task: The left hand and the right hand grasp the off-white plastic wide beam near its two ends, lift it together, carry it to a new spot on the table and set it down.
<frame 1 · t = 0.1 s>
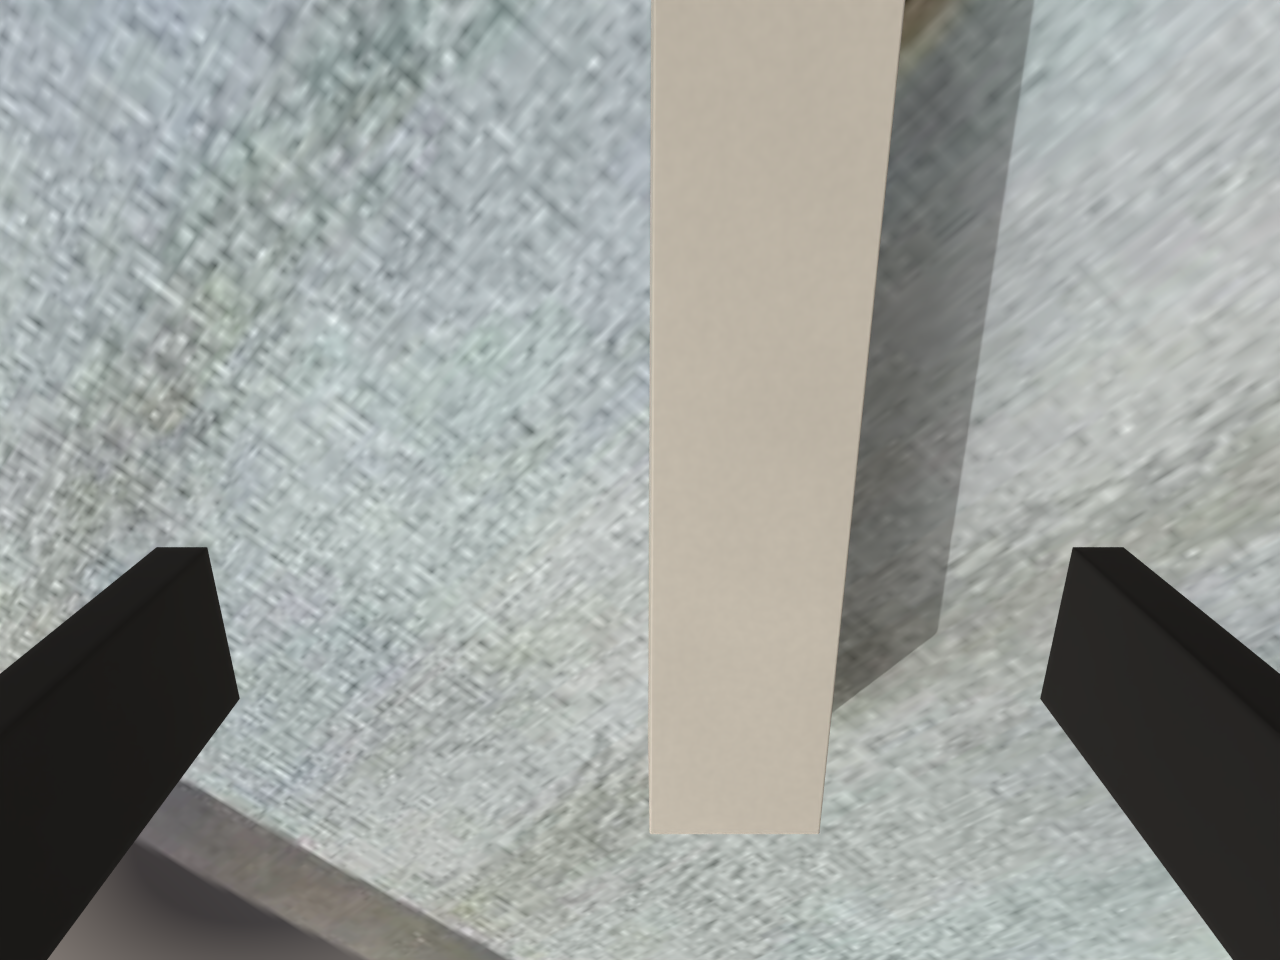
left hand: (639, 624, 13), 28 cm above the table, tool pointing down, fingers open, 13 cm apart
wide beam: (743, 257, 38), on the table
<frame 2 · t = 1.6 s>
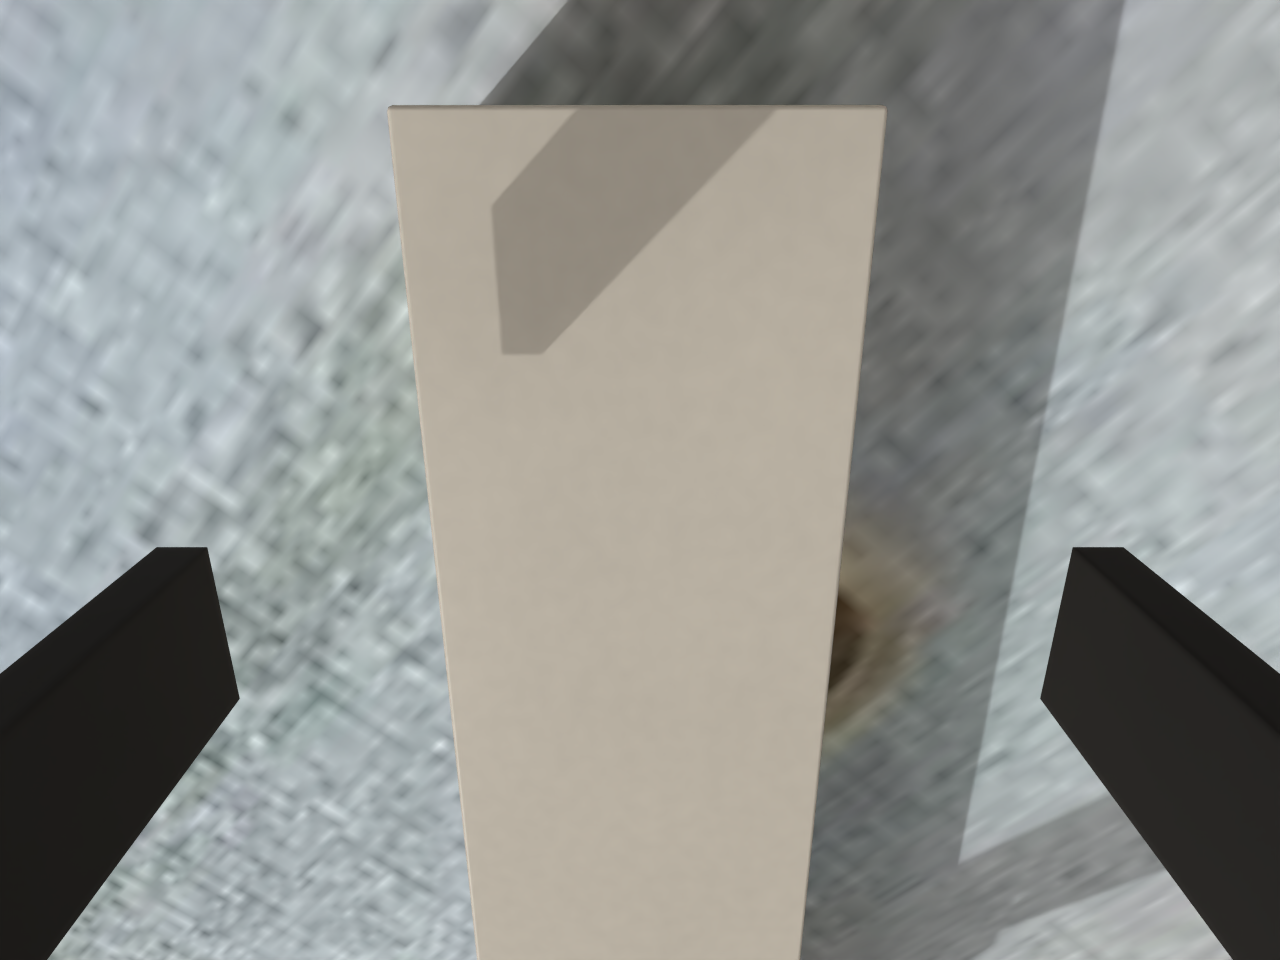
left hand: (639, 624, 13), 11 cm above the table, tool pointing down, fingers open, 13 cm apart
wide beam: (638, 918, 31), on the table
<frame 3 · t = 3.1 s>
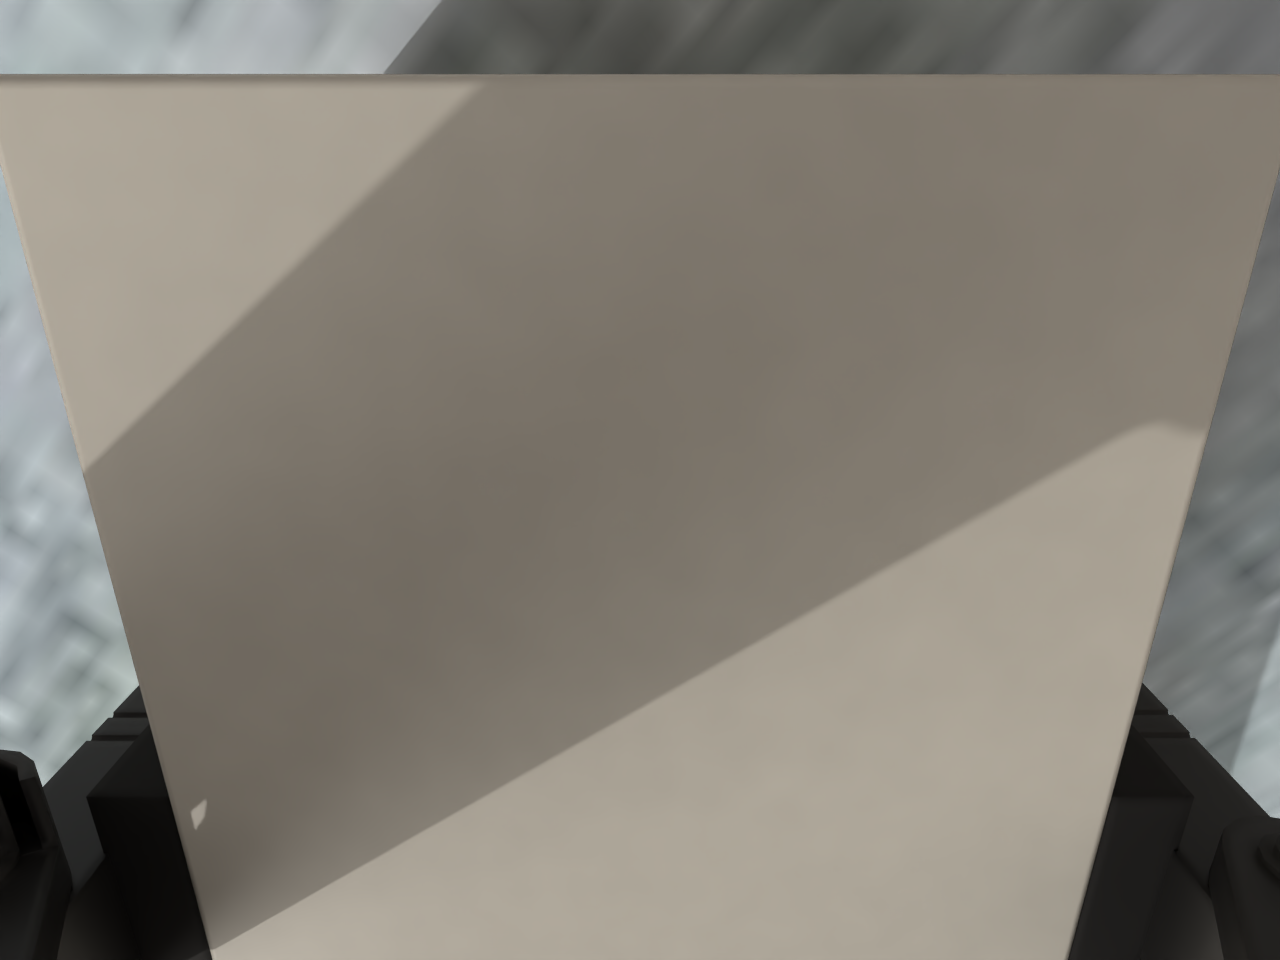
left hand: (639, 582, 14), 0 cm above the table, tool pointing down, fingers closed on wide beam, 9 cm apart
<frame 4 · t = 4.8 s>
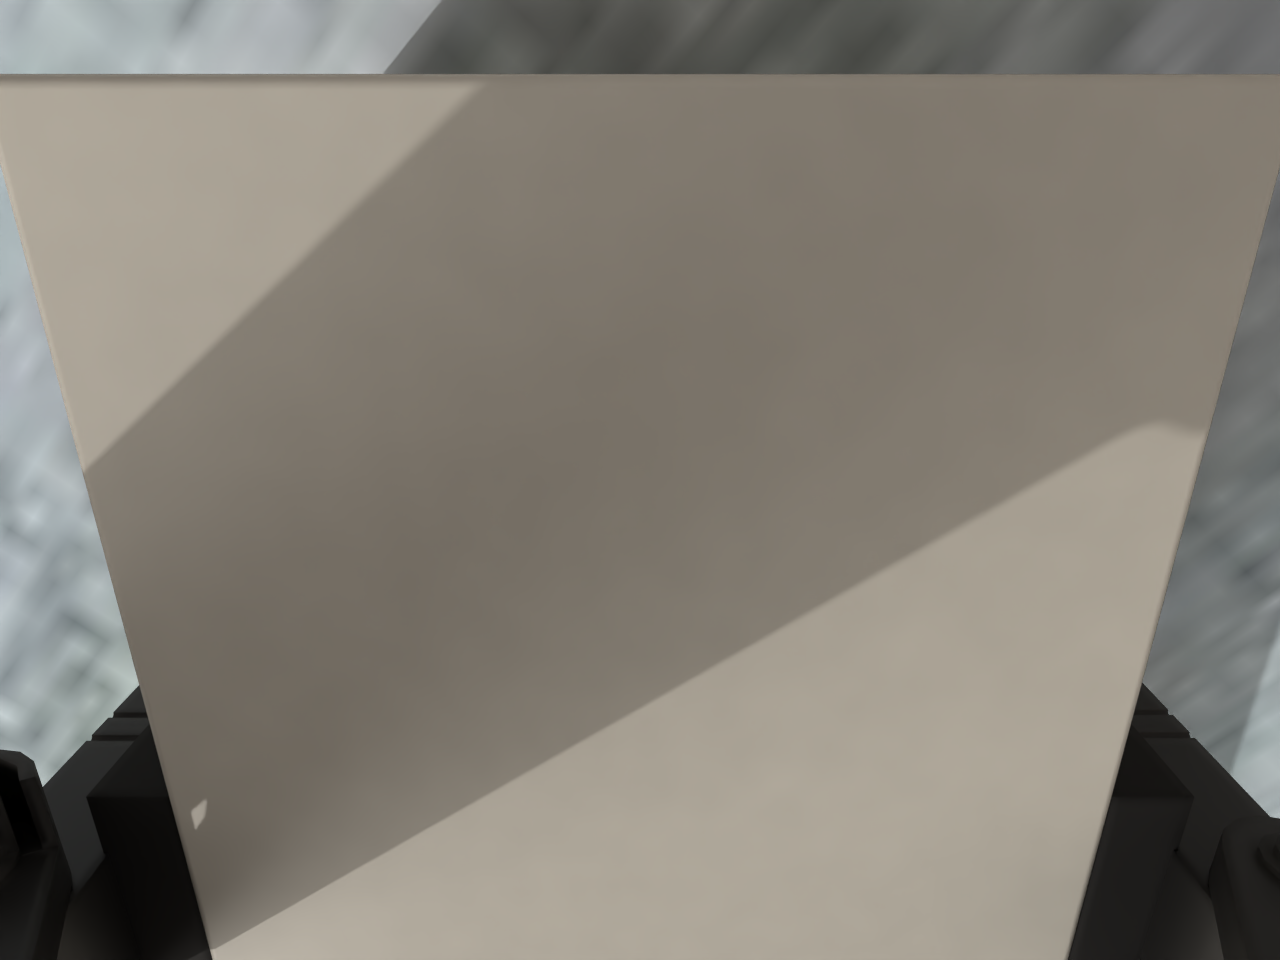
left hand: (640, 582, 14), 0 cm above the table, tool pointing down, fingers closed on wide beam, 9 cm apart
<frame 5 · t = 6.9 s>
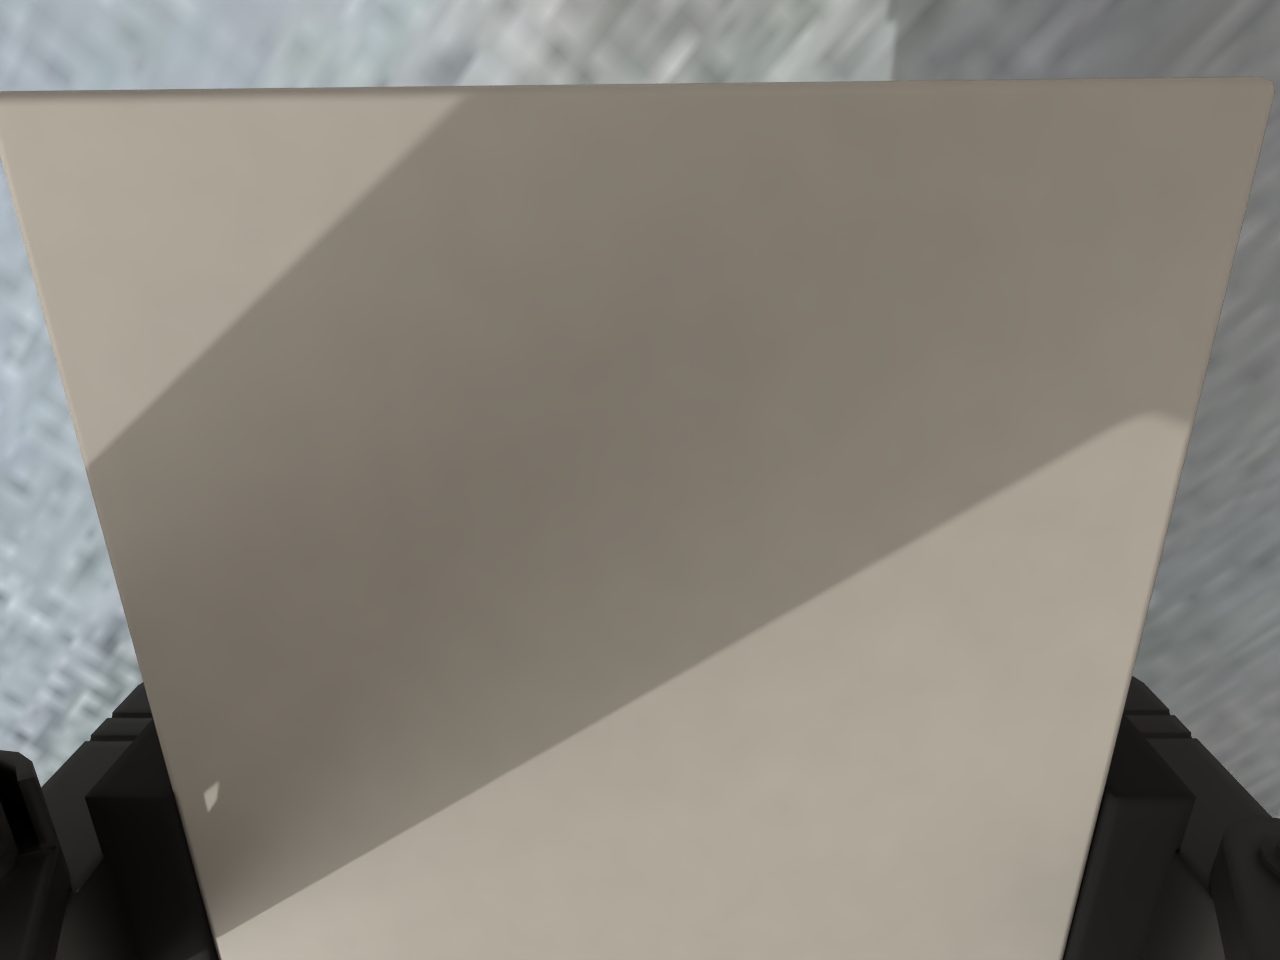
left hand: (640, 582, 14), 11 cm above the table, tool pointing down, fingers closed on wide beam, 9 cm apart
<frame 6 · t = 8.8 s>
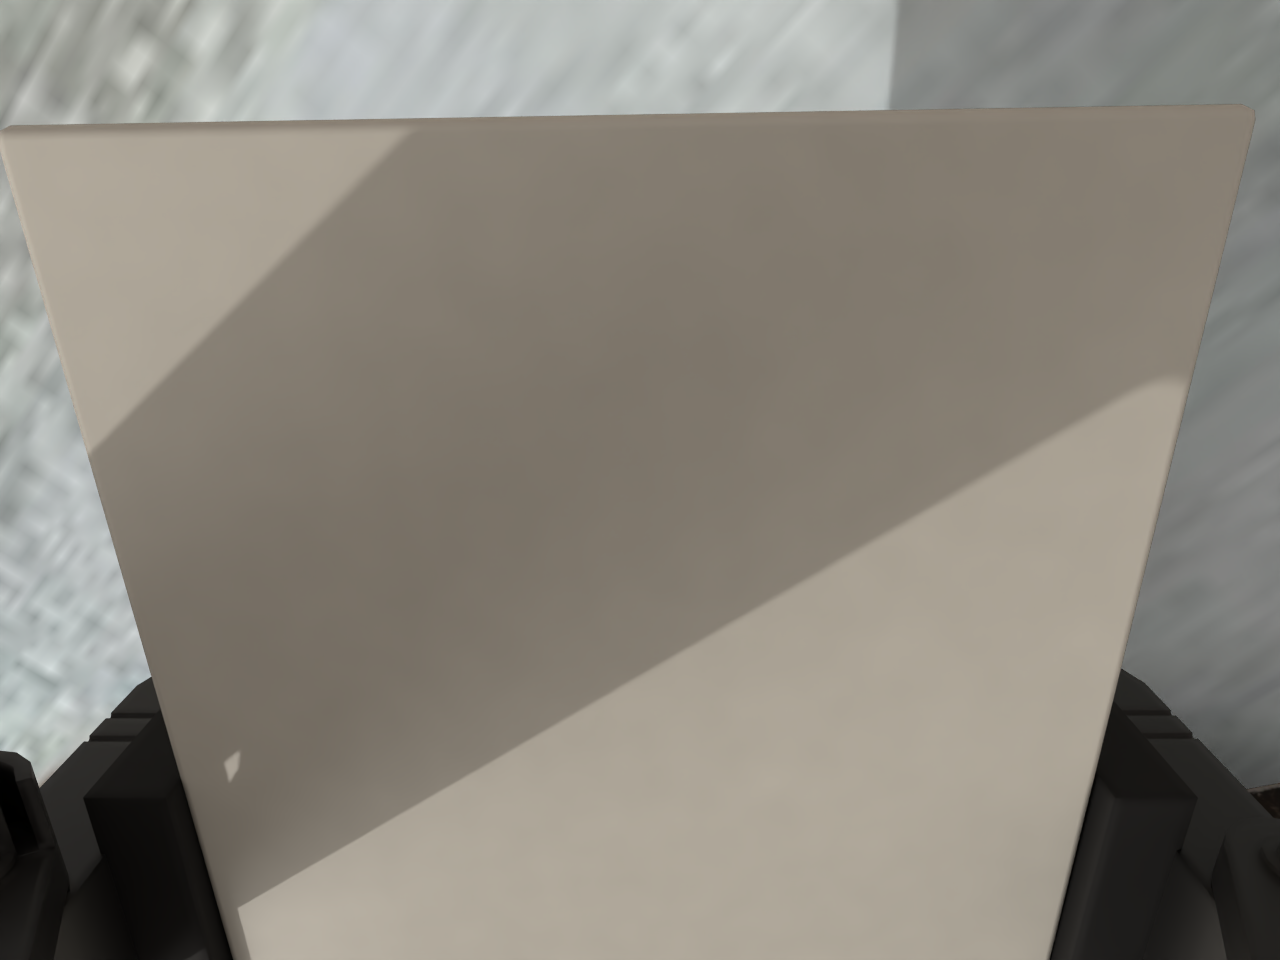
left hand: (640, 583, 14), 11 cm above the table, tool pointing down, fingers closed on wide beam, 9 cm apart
when the left hand's fingers open (2 cm above the table, at t = 10.7 s): wide beam drops 1 cm, on the table.
when the right hand's fingers open (2 cm above the table, at t = 10.7 s): wide beam drops 1 cm, on the table.
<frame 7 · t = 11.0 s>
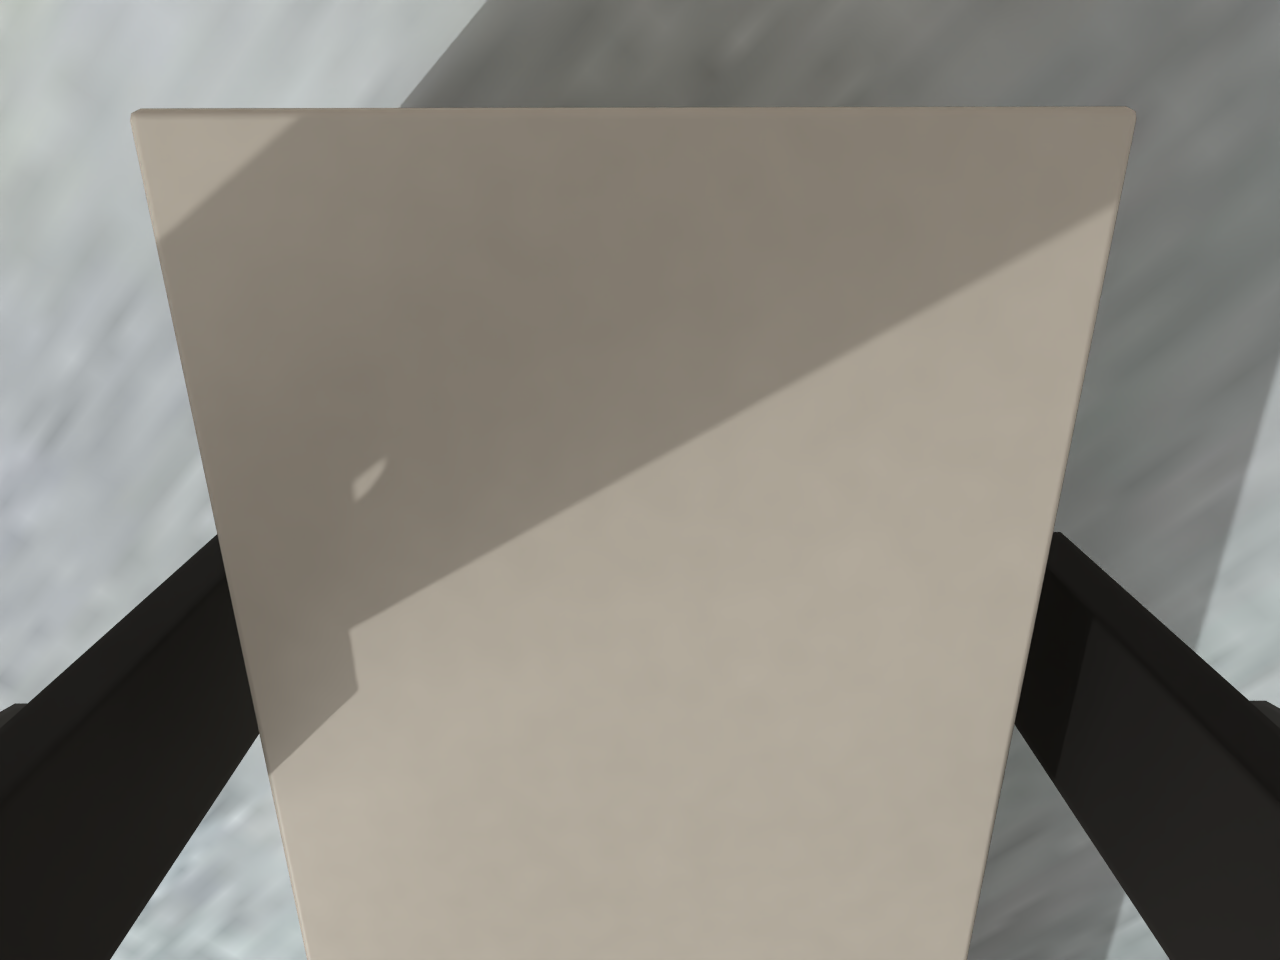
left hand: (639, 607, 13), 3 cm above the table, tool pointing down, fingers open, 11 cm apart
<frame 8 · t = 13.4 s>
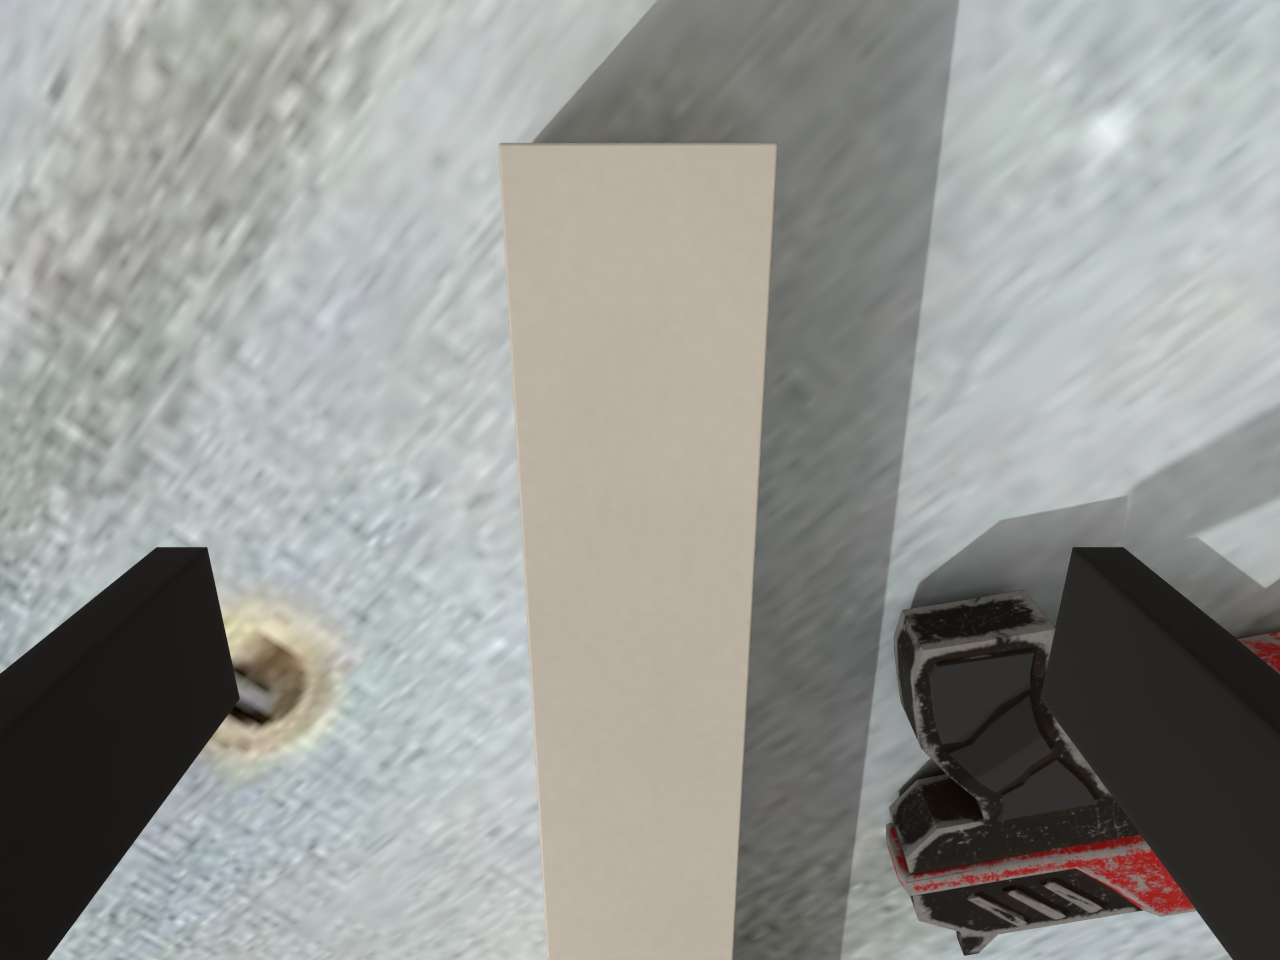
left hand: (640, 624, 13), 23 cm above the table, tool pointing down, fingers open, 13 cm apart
wide beam: (639, 729, 42), on the table
gun: (1178, 712, 41), on the table
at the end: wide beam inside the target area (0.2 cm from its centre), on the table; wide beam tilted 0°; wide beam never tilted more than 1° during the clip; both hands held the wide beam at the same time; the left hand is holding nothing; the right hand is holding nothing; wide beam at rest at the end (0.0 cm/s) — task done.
